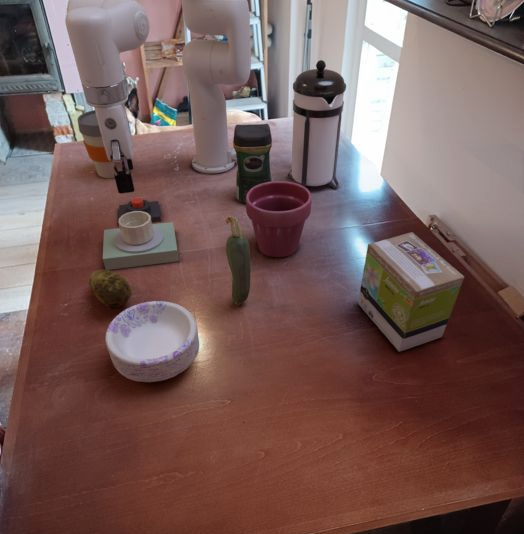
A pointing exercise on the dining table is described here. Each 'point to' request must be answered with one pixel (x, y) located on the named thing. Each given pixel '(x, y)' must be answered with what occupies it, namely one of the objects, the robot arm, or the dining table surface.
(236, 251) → the vegetable
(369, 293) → the tea box
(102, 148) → the reusable coffee cup
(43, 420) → the dining table surface
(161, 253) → the scale
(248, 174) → the coffee jar
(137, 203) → the tare button
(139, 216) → the bowl
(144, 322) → the paper bowls
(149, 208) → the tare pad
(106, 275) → the potato
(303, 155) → the coffee press
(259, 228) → the flower pot
